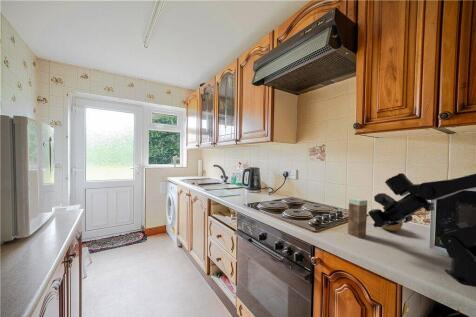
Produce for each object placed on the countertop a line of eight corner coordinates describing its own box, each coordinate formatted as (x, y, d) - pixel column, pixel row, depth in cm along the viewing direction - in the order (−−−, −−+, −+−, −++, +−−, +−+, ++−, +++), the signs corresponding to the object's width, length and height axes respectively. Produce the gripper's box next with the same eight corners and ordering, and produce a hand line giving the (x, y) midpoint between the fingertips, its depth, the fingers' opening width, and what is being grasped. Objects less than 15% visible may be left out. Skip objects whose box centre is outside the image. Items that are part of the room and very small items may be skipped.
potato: (390, 225, 105) (391, 210, 104) (408, 235, 91) (409, 218, 90) (370, 223, 106) (370, 208, 106) (384, 233, 92) (385, 216, 92)
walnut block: (365, 236, 89) (367, 200, 88) (358, 237, 87) (359, 201, 86) (355, 232, 93) (356, 197, 93) (347, 233, 91) (349, 198, 91)
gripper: (404, 187, 81) (375, 207, 92) (374, 188, 74) (346, 210, 84) (428, 211, 74) (393, 230, 85) (397, 216, 67) (364, 236, 77)
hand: (374, 225), depth 83 cm, fingers closed
